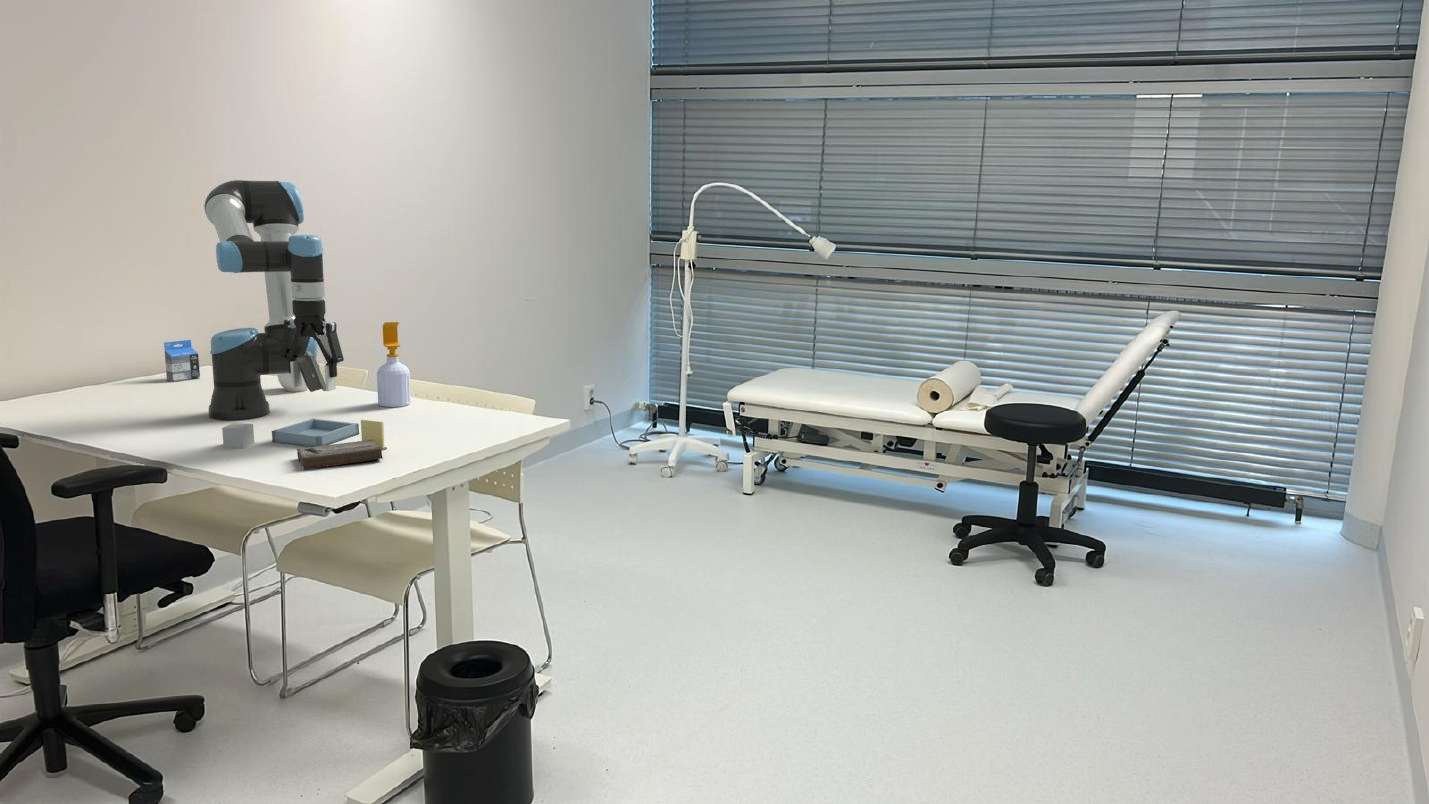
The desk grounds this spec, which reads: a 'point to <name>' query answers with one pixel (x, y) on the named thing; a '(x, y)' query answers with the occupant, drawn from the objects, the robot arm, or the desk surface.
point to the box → (338, 454)
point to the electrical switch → (311, 372)
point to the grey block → (238, 435)
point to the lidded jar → (290, 383)
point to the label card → (373, 432)
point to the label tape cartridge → (181, 361)
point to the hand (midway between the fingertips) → (313, 388)
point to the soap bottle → (393, 373)
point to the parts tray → (315, 432)
